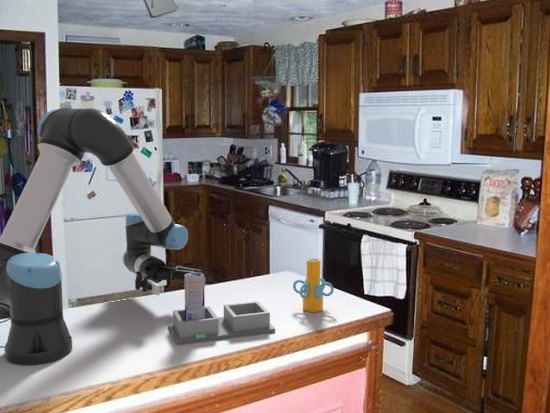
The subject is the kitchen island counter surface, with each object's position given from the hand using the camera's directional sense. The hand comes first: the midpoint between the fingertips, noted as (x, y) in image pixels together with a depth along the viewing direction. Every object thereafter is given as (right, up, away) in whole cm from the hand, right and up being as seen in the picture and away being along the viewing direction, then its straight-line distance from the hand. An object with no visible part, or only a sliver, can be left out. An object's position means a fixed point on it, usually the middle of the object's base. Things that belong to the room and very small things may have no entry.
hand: (181, 286), depth 158 cm
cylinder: (+37, -9, +14) cm, 40 cm away
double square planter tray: (+11, -11, -3) cm, 16 cm away
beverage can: (+4, -11, -5) cm, 13 cm away
